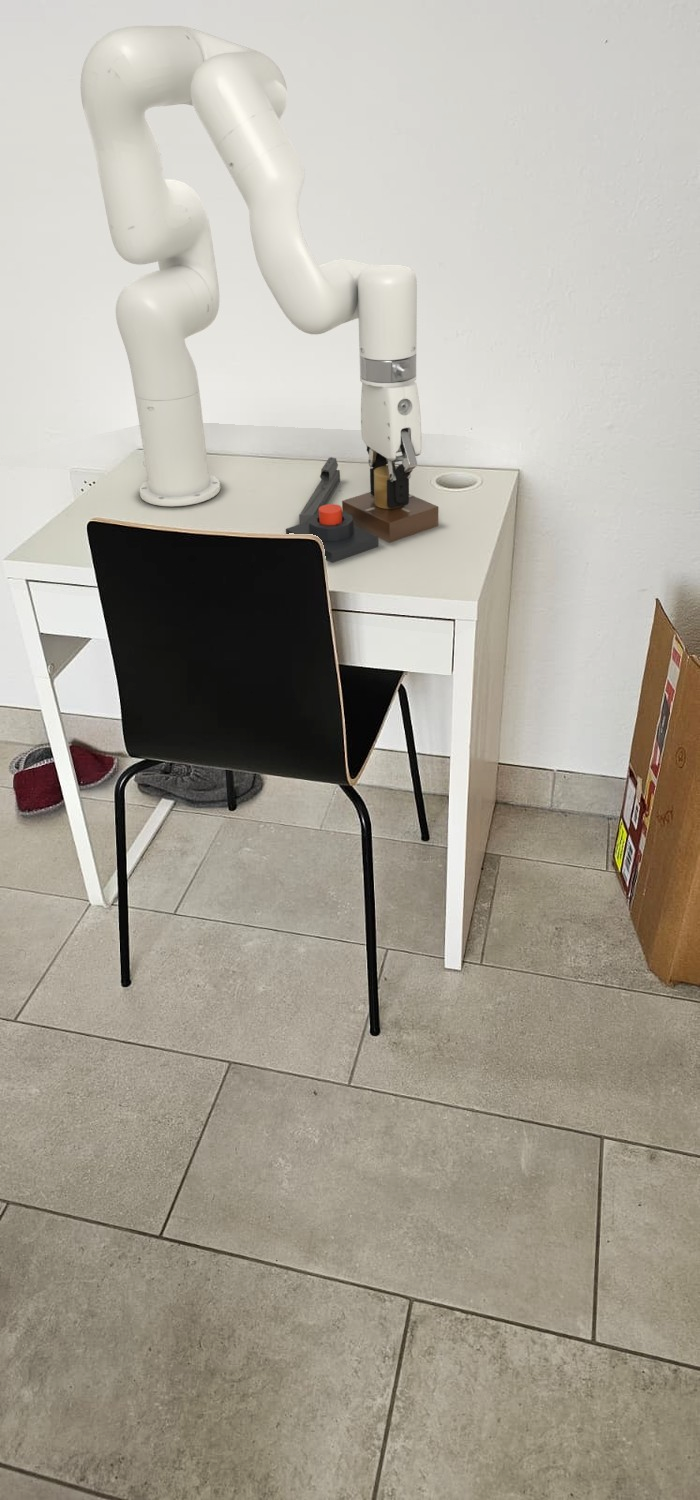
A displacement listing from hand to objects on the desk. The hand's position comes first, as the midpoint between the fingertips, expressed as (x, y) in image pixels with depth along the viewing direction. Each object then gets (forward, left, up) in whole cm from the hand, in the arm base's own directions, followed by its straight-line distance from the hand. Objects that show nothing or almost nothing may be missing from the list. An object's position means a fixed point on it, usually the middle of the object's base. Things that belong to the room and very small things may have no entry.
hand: (389, 498), depth 145 cm
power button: (0, -10, -1) cm, 10 cm away
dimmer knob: (0, 0, -1) cm, 1 cm away
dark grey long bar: (-13, -3, -4) cm, 13 cm away
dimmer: (0, 0, -4) cm, 4 cm away
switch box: (0, -11, -4) cm, 11 cm away
